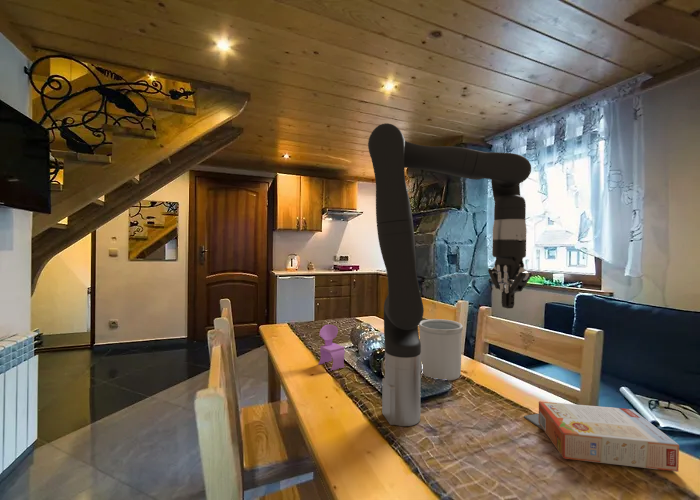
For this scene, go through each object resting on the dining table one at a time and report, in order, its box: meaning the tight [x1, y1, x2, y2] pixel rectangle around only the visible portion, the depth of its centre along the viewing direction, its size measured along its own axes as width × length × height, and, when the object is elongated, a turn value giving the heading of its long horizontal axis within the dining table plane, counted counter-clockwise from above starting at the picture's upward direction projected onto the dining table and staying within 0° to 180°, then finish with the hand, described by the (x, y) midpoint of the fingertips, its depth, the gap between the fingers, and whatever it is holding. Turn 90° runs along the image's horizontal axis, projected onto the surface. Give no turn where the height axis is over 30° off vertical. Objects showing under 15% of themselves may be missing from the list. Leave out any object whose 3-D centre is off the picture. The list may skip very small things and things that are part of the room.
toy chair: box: [317, 323, 346, 372], centre depth 120 cm, size 8×9×15 cm
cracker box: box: [538, 400, 680, 473], centre depth 72 cm, size 14×6×21 cm
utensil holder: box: [418, 318, 464, 381], centre depth 114 cm, size 15×15×18 cm
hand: (507, 307), depth 80 cm, fingers closed
